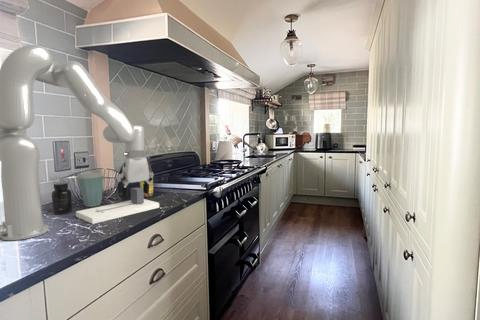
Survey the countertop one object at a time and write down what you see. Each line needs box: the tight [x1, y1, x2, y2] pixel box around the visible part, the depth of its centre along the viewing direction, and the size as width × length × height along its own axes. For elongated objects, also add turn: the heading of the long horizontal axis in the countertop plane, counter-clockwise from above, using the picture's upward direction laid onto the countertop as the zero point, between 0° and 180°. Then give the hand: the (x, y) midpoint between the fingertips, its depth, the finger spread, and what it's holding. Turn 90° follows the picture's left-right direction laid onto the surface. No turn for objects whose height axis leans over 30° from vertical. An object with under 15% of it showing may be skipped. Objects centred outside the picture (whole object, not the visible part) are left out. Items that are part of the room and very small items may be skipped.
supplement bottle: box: [51, 181, 74, 216], centre depth 117 cm, size 7×7×12 cm
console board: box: [75, 198, 160, 225], centre depth 118 cm, size 28×14×2 cm, turn 141°
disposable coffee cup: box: [76, 169, 105, 208], centre depth 128 cm, size 11×11×15 cm
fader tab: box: [130, 186, 145, 204], centre depth 124 cm, size 3×5×6 cm, turn 51°
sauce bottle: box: [139, 156, 154, 198], centre depth 145 cm, size 6×6×20 cm
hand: (135, 194), depth 123 cm, fingers open, 9 cm apart
